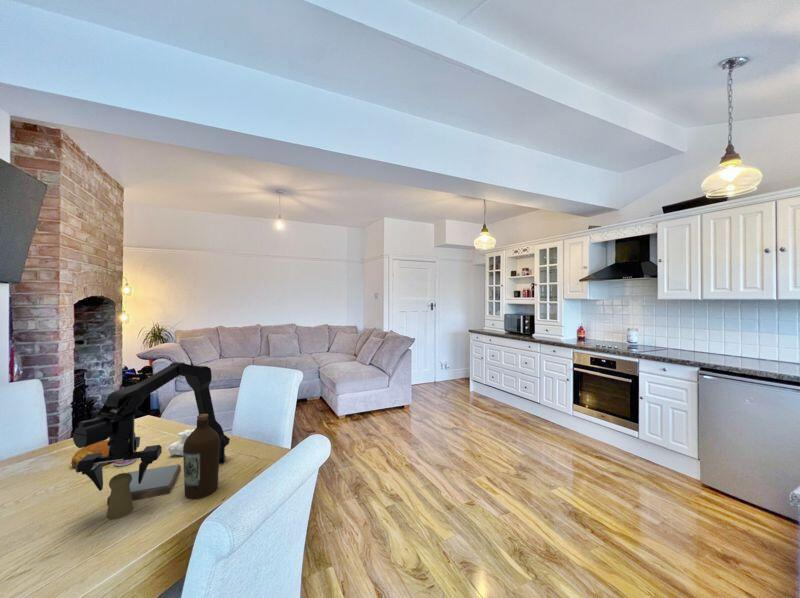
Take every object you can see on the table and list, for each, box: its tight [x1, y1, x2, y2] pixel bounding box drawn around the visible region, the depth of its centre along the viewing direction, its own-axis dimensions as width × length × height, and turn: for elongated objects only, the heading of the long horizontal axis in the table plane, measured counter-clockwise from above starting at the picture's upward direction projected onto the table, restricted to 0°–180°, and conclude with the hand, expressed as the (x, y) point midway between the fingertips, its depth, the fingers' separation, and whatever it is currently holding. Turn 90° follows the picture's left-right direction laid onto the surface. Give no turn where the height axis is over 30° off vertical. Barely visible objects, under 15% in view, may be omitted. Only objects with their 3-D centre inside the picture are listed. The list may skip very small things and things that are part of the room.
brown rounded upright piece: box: [105, 472, 134, 520], centre depth 96 cm, size 6×6×11 cm
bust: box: [167, 428, 196, 457], centre depth 134 cm, size 12×8×11 cm
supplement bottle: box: [113, 434, 138, 467], centre depth 126 cm, size 7×7×13 cm
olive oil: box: [182, 414, 220, 500], centre depth 108 cm, size 11×11×25 cm
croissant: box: [70, 439, 112, 469], centre depth 128 cm, size 14×16×8 cm
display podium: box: [106, 464, 182, 506], centre depth 110 cm, size 16×16×2 cm
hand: (120, 486), depth 96 cm, fingers open, 9 cm apart
